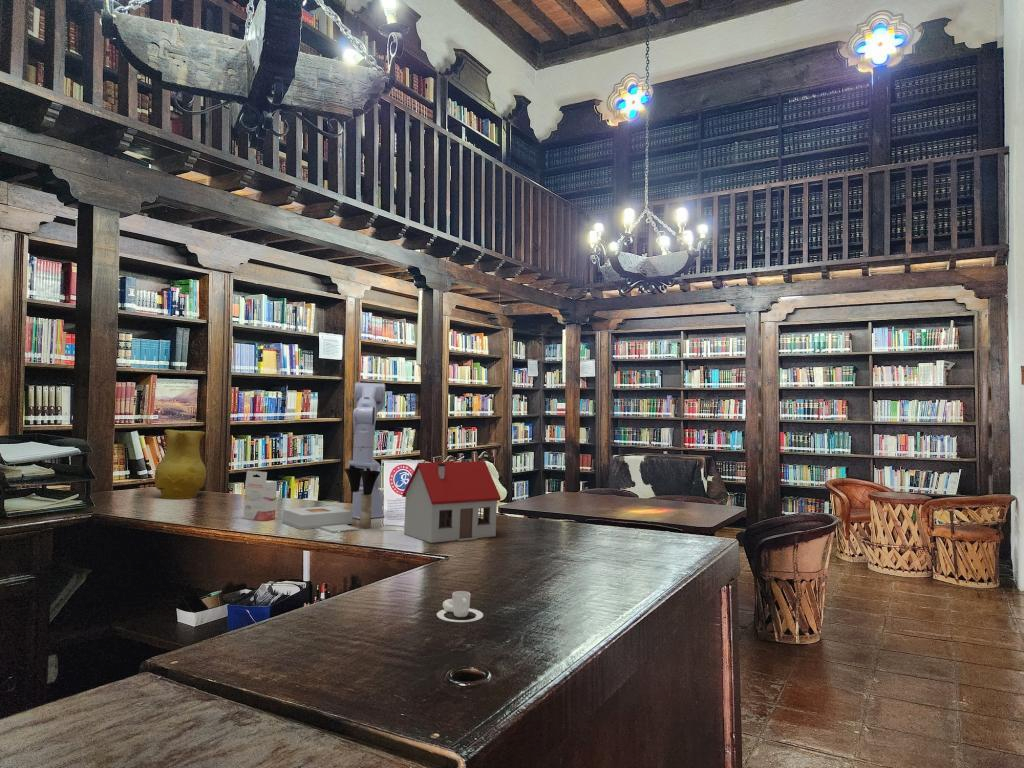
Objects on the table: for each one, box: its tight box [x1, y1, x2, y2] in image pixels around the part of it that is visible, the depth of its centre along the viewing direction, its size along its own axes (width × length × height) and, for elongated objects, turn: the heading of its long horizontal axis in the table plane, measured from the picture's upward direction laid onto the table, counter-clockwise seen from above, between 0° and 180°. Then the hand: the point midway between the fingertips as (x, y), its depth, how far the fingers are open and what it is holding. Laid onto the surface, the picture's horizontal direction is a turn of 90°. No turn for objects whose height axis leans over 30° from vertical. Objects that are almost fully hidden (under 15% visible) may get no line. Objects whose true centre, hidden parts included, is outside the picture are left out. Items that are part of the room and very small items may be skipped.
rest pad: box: [320, 524, 359, 533], centre depth 188 cm, size 8×8×1 cm
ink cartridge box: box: [243, 470, 278, 522], centre depth 201 cm, size 9×5×15 cm, turn 68°
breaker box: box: [281, 505, 353, 530], centre depth 196 cm, size 16×13×4 cm
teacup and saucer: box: [436, 590, 484, 623], centre depth 113 cm, size 9×8×4 cm
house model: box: [401, 461, 502, 544], centre depth 186 cm, size 25×20×21 cm
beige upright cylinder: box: [359, 493, 372, 529], centre depth 193 cm, size 3×3×10 cm
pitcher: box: [153, 429, 207, 500], centre depth 244 cm, size 17×19×25 cm
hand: (361, 493), depth 193 cm, fingers open, 7 cm apart
